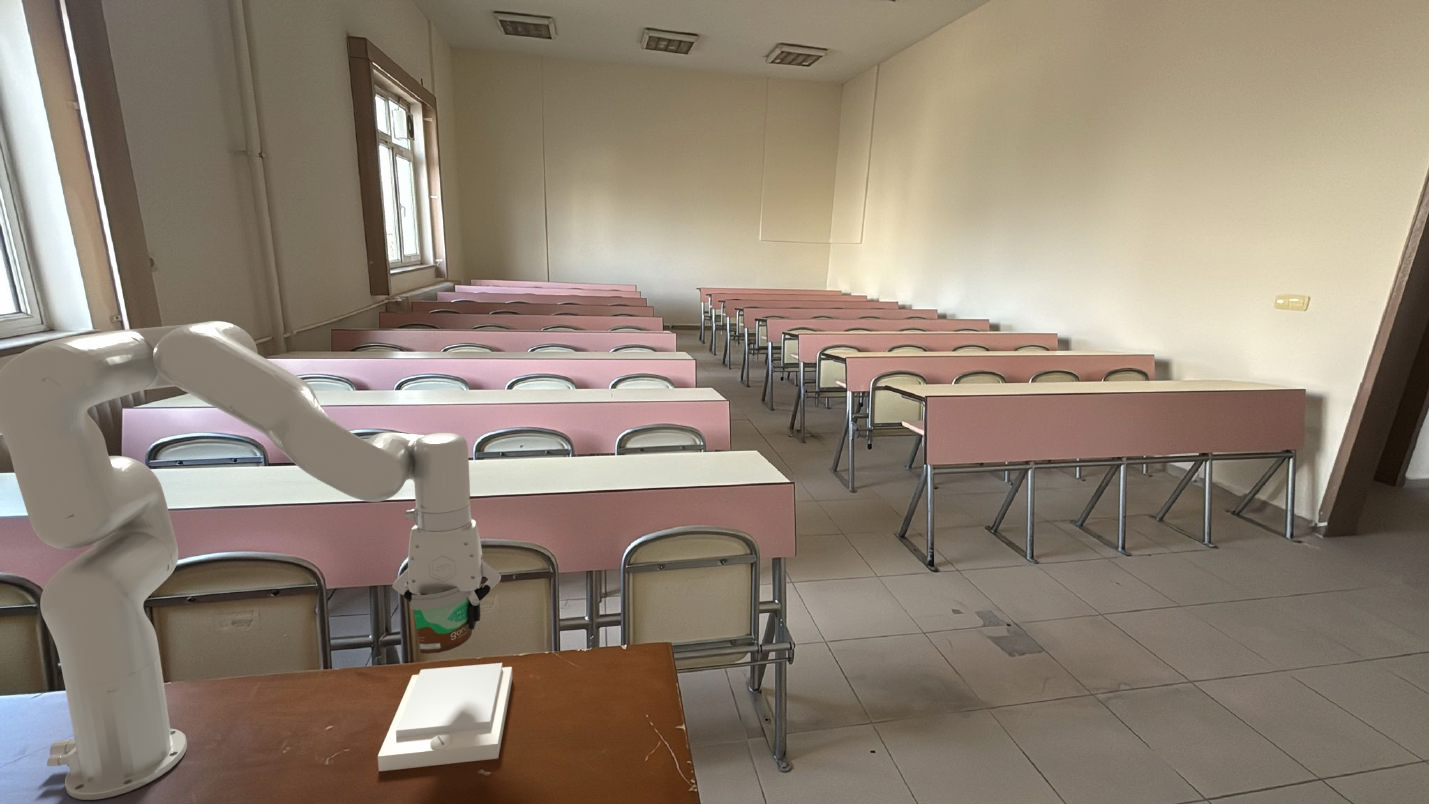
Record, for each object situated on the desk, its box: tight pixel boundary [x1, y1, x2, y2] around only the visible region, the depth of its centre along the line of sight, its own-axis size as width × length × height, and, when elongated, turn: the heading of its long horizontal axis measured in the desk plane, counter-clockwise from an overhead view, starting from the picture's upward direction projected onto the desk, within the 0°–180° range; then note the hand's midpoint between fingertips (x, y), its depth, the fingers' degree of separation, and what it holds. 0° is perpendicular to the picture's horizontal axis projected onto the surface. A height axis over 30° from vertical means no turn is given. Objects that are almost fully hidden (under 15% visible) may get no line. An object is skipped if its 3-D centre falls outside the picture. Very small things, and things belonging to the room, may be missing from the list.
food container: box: [409, 587, 473, 655], centre depth 100 cm, size 12×6×10 cm, turn 170°
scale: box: [377, 662, 513, 772], centre depth 101 cm, size 16×19×4 cm
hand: (450, 625), depth 100 cm, fingers closed on food container, 6 cm apart
